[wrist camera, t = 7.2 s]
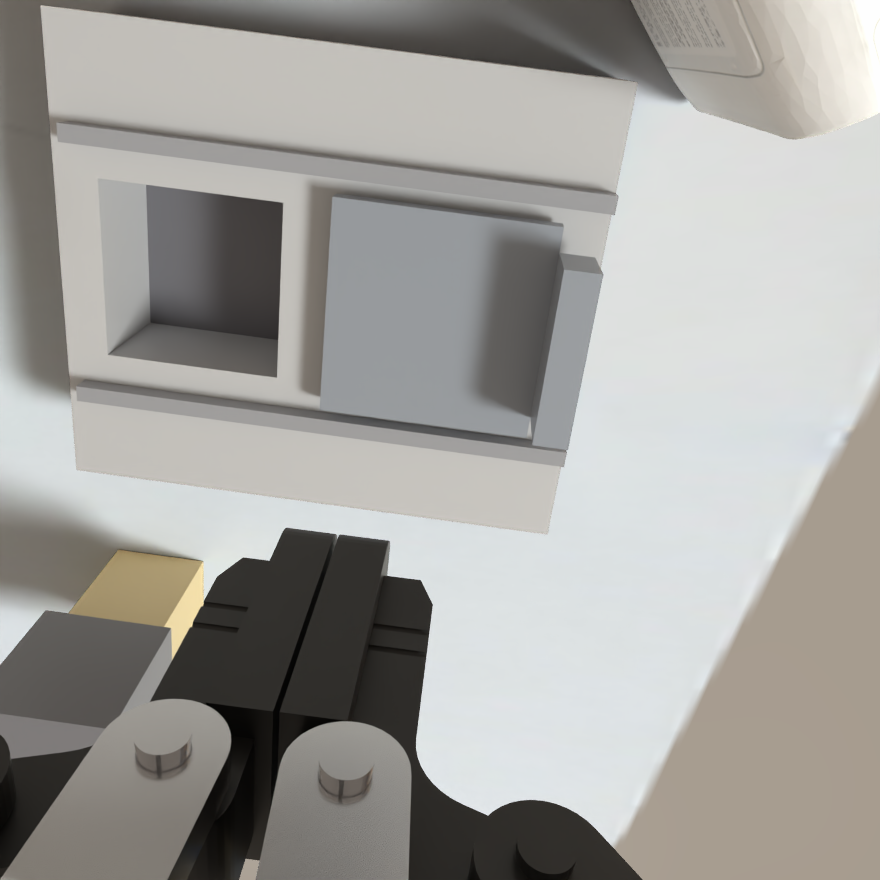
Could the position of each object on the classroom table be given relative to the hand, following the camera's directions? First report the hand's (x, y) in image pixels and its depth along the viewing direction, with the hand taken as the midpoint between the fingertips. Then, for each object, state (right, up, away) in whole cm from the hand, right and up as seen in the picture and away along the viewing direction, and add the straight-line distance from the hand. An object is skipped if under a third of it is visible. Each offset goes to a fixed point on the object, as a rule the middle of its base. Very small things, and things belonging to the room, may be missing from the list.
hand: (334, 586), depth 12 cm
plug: (-10, -4, +23) cm, 26 cm away
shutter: (+2, +6, +13) cm, 14 cm away
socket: (-2, +8, +17) cm, 19 cm away
